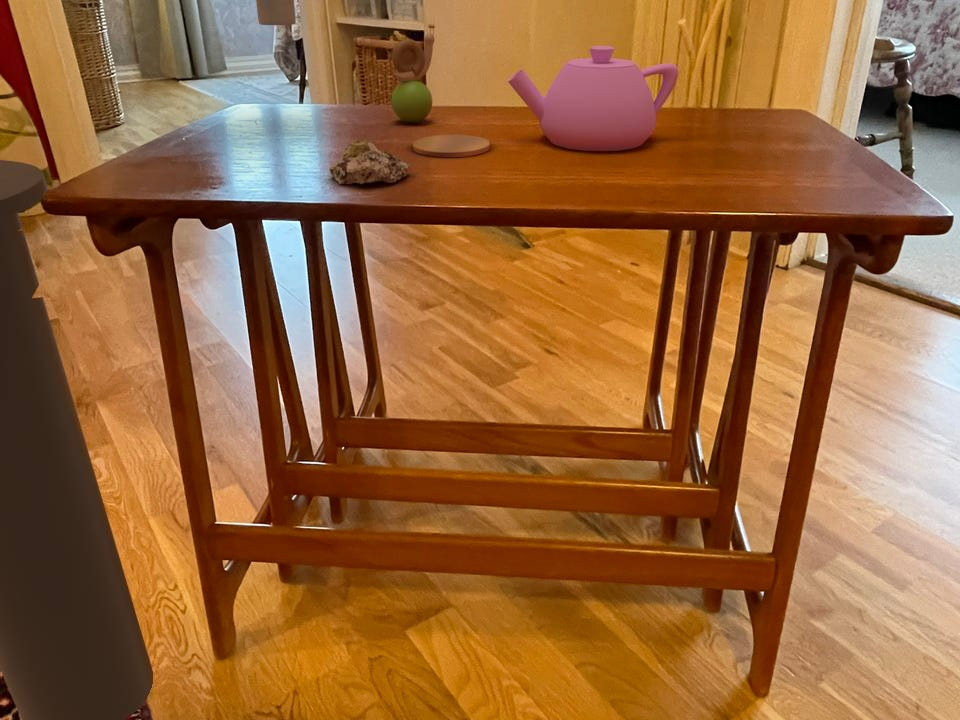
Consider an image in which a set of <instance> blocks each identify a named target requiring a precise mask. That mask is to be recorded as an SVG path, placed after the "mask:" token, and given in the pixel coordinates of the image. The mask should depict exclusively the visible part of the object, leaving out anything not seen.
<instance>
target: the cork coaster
mask: <svg viewBox="0 0 960 720" xmlns="http://www.w3.org/2000/svg"><path fill="white" fill-rule="evenodd" d="M490 148H491V143H490V141H489V140H488V139H486V138H484V137H480V136H475V135H468V134H439V135H431V136H426V137H421V138H418V139H416V140H415V141H413V142H412V149H413V151H414V153H417V154H419V155H423V156H426V157H427V156H428V157H433V158H435V157H436V158H464V157H472V156H473V157H474V156H478V155H481V154H484V153H487V152H488V151H489V150H490Z"/></svg>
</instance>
